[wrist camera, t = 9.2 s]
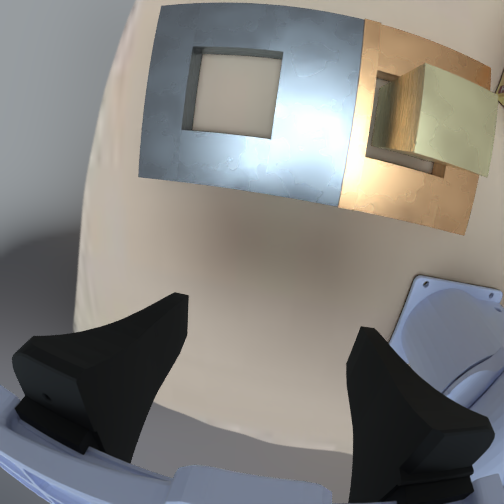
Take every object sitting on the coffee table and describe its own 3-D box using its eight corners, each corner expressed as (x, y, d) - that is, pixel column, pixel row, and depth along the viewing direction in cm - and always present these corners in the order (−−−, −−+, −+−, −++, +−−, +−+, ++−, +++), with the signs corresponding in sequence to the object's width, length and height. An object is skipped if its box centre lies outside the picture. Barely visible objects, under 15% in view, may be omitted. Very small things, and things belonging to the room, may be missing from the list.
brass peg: (433, 105, 16) (498, 95, 9) (424, 160, 18) (487, 177, 10) (379, 88, 17) (425, 62, 9) (371, 145, 18) (414, 152, 11)
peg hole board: (477, 71, 15) (492, 67, 13) (452, 227, 19) (465, 236, 17) (172, 15, 16) (160, 4, 14) (151, 173, 21) (136, 177, 19)
